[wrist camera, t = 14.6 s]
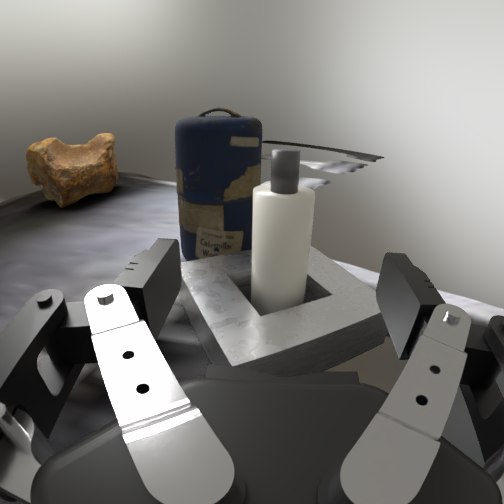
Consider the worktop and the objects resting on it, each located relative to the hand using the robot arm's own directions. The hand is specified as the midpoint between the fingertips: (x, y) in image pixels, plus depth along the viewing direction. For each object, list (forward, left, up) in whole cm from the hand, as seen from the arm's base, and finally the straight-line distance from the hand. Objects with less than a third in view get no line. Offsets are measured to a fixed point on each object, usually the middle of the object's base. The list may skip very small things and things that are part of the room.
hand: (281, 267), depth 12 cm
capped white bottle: (+6, +10, -12) cm, 17 cm away
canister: (+6, +24, -12) cm, 28 cm away
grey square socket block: (+6, +10, -12) cm, 17 cm away
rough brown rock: (-15, +65, -13) cm, 68 cm away
